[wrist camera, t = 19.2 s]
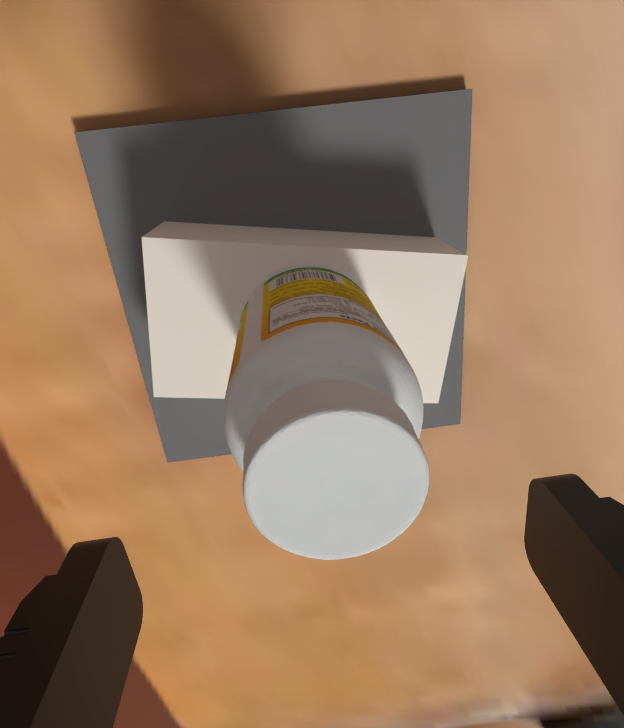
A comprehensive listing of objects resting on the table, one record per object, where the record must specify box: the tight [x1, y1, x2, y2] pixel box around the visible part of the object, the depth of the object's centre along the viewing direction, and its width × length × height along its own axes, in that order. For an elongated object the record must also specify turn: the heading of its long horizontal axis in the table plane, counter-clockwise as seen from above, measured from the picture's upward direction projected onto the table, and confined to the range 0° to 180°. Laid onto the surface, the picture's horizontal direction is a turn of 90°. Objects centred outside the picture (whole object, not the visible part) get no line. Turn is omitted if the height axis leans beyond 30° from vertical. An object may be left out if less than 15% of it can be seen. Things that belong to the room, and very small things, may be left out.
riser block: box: [142, 221, 468, 403], centre depth 20 cm, size 6×12×4 cm, turn 86°
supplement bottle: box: [223, 265, 429, 560], centre depth 14 cm, size 5×5×10 cm
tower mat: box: [74, 89, 472, 462], centre depth 23 cm, size 16×16×1 cm
